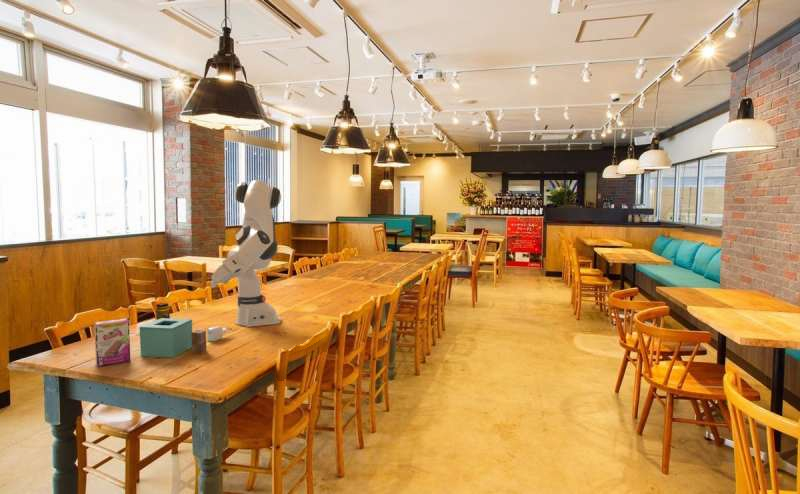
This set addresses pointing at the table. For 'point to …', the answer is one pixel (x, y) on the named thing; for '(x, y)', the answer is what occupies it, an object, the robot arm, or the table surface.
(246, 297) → the robot arm
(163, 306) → the condiment
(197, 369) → the table surface
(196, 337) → the walnut block
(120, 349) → the candy bar box
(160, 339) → the teal coin box
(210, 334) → the power adapter
